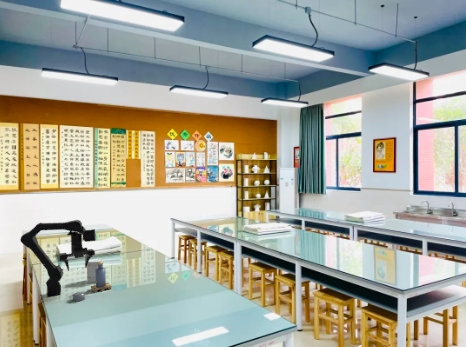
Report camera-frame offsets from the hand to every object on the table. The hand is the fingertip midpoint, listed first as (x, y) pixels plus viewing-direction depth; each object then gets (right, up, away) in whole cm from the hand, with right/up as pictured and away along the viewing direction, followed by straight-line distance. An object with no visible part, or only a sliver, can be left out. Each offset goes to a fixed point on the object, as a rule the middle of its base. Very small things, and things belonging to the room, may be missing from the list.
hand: (77, 269), depth 201 cm
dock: (+12, -13, +4) cm, 18 cm away
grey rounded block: (+6, -13, -11) cm, 18 cm away
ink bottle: (+12, -11, +4) cm, 17 cm away
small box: (+3, -13, +19) cm, 23 cm away
